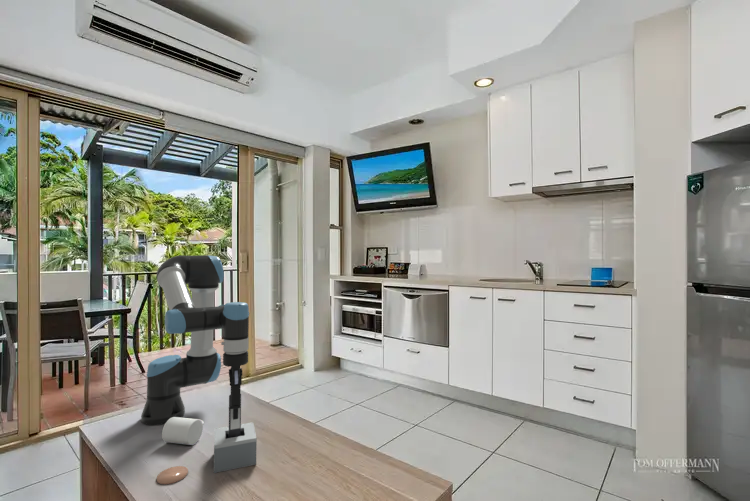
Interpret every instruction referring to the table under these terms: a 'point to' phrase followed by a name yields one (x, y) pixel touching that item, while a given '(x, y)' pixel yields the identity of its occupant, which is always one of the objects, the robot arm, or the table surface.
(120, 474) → the table surface
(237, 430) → the rod
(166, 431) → the mug
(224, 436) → the square hole box
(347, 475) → the table surface
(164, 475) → the coaster
